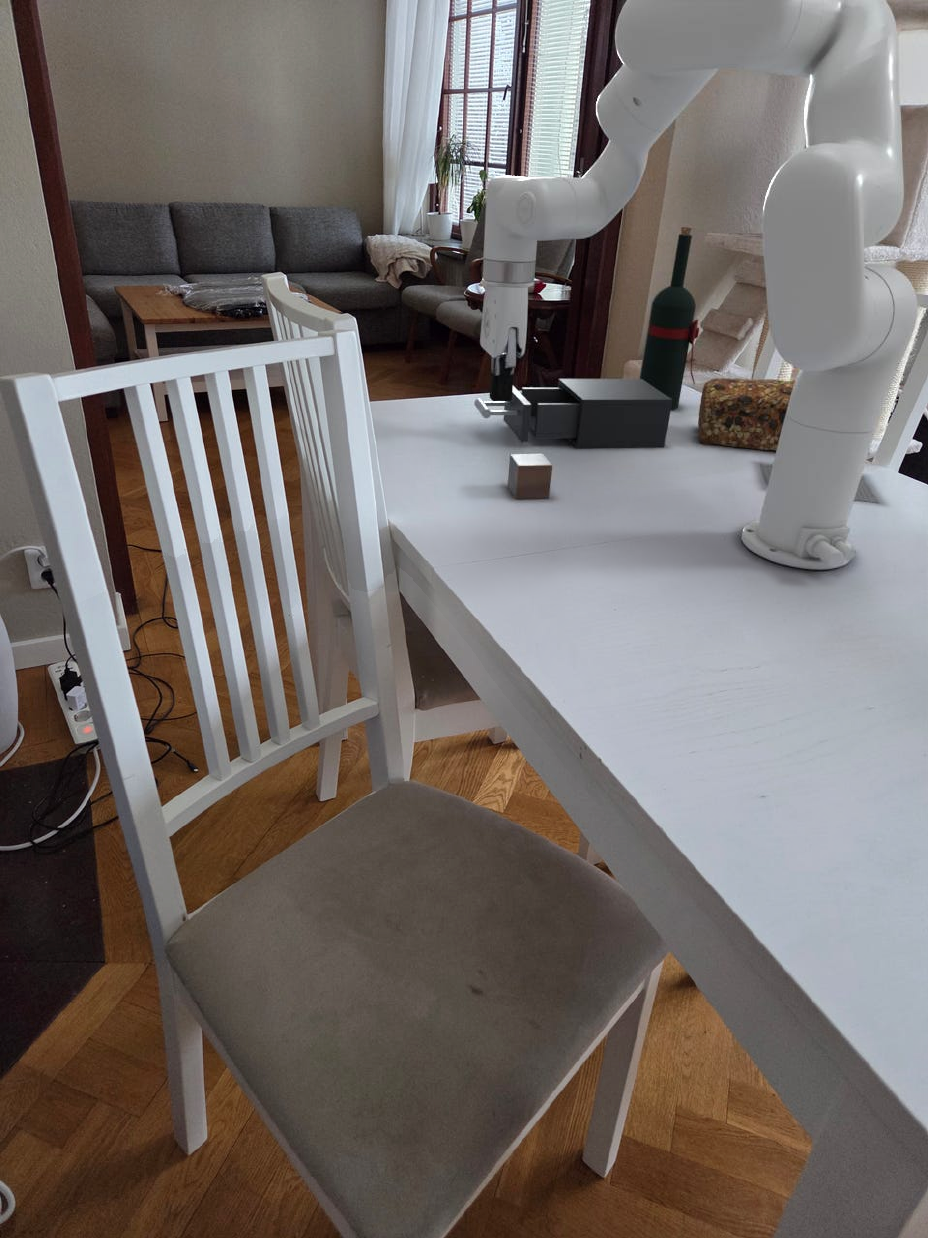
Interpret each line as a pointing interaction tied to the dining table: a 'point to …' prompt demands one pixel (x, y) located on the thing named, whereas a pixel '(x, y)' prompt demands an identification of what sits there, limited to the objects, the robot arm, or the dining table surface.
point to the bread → (743, 412)
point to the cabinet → (619, 413)
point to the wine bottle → (671, 329)
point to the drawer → (537, 413)
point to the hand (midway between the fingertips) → (500, 399)
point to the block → (529, 476)
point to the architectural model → (862, 492)
